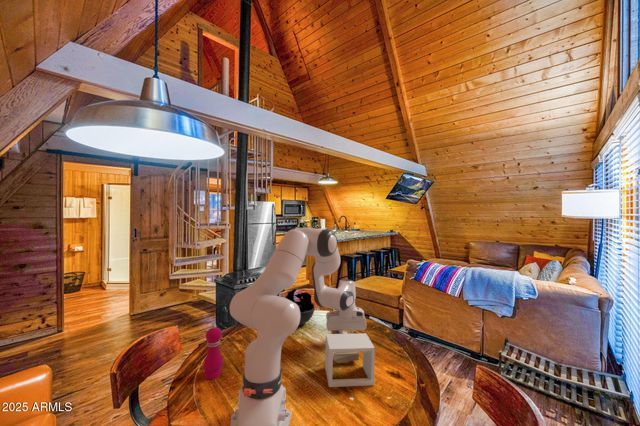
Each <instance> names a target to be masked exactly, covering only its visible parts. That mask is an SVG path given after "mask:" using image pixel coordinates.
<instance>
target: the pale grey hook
mask: <svg viewBox="0 0 640 426" xmlns="http://www.w3.org/2000/svg"><path fill="white" fill-rule="evenodd" d="M335 331H336V332H337V333H336V334H340V333H339V330H335ZM347 331H348V330H342V332H341V333H342V334H349V333H348V332H347ZM359 360H360V353H359V352H337V353H335V352H333V363H334V362H336V361H348V362H350V361H359ZM336 363H337V362H336Z"/></svg>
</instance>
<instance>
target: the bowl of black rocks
mask: <svg viewBox="0 0 640 426" xmlns="http://www.w3.org/2000/svg"><path fill="white" fill-rule="evenodd" d="M295 292H297V289H296V288H293V289H292V290H289V291H288V292H287V295H286V296H284V298H286V299H288V300H290V301H292V302H294V303H296V304H297V305H298V307H299V309H300V314H301V316H300V323H299V325H298V326H301V325H304V324H306V323H307V322H309V321H310V320H311V318H312V317H313V316H314V312H315V305H314V304H313V302H312V294H310V293H308V292H301V293H299V292H298V293H297V294H295ZM295 297H296V298H297V299H299V301H296V300H295Z"/></svg>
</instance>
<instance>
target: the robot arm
mask: <svg viewBox="0 0 640 426" xmlns="http://www.w3.org/2000/svg"><path fill="white" fill-rule="evenodd" d="M306 256H309V257H314V261H315V262H313V264H312V267H311V276H312V283H313V300H314V302H315V304H316V305H317V306H318V307H321V308H329V309H332V310H329V311H327V313H326V316H325V318H326V325H325V326H326V330H327V331H336V330H339V333H338V334H342V333H341V332H342V330H346V331H350V332H349V334H355V333H354V332H355V331H365V330H366V329H367V319H366V316H365V311H364V310H363V309H362V308H361V307H358V306H356V297H357V293H356V290H357V289H356V282H355V281H354V280H352V279H347V278H342V279H340V280H339V283H338V284H339V285H338V287H337V288H334V287H330V286H328V285H326V284H325V279H324V278H325V277H324V276H328V275H331V274H333V273H335V272H337V270H338V269H339V268H340V265H341V261H342V260H341V254H340V251H339V248H338V238H337V236H336V234H335V233H334V232H333V231H331V230H328V229H321V228H315V227H294V228H291V229H290V230H288V231H287V232H285V234H284V235H283V236H282V238H281V240H280V241H279V243H278V244H277V246H276V248H274V251H273V253H272V255H271V257H270V259H269V261H268V263H267V264H266V267H265V268H264V270H263V271H262V273H261V274H260V275H259V276H258V277H257V278H256V279H255V280H254V281H253V282H252V283H251V284H250V285H249V286H247V287H245V288H244V289H242V290H240V291H237V293H235V295H233V297H232V299H231V301H230V303H229V313H230V316H231V317H232V318H233V319H234V320H235V321H237V322H238V323H240V324H242V325H243V326H247V327H249V328H253V329H255V330H256V331H257V337H256V339H254V340H253V341H251V342H250V343H249V344H248V345H247V347H246V349H245V351H244V352H245V353H244V372H243V375H242V381H241V382H242V387H241V388H240V389H239V390H238V407H237V408H236V409H235V410H234V411H235V412H233V413H232V414H231V415H230V425H229V426H289V425H290V423H291V419H292V416H293V415H292V411H291V410H290V409H288V408H286V405H287V399H286V397H287V396H286V395H287V394H286V393H287V391H286V387H285V386H283V384H282V378H283V377H282V376H283V375H282V369H281V357H282V348H283V345H284V342H285V340H286V339H287V338H288V337H289V336H292V335H293V333H295V331H296V330H297V328H298V327H299V326H300V325H299V323H300V316H301V314H300V309H299V307H298V305H297V304H296V303H294V302H292V301H290V300H288V299H286V298H285V296H284V297H282V296H279V294H280V293H281V292H282V291H284V290H286V289H289V288H291V287H292V286H293V285H294V284H295V283H296V281H297V278H298V276H299V273H300V271H301V269H302V266H303V264H304V262H305V259H306Z"/></svg>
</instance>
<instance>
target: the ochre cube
mask: <svg viewBox="0 0 640 426" xmlns="http://www.w3.org/2000/svg"><path fill="white" fill-rule="evenodd" d="M334 353H337V352H334ZM336 364H349V361H336Z"/></svg>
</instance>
